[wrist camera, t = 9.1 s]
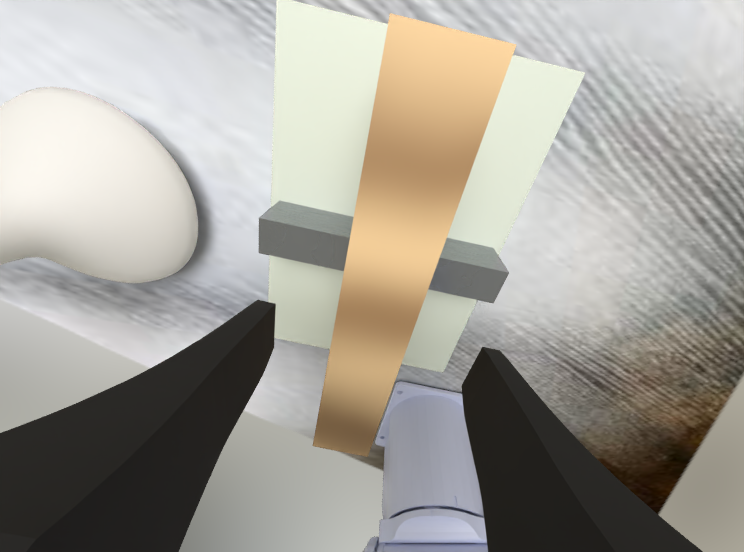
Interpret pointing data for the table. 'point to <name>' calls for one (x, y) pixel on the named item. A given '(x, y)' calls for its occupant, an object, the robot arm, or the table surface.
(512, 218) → the balance stand
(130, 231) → the flower in vase
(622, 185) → the table surface
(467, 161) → the wooden block
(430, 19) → the table surface
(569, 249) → the table surface
